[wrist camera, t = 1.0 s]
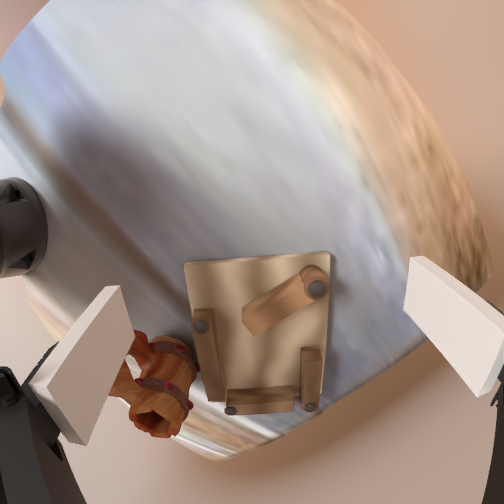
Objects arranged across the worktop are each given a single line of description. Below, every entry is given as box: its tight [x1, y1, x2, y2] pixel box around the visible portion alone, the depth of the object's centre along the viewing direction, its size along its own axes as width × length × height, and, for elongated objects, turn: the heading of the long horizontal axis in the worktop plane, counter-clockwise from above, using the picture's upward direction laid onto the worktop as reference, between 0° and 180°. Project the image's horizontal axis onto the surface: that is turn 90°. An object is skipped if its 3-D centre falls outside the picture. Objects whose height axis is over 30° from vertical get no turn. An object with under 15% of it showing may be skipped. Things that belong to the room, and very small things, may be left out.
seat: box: [183, 251, 330, 415], centre depth 39 cm, size 18×24×5 cm
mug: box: [108, 330, 201, 438], centre depth 34 cm, size 15×8×15 cm, turn 29°
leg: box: [242, 265, 329, 336], centre depth 35 cm, size 11×3×4 cm, turn 124°
